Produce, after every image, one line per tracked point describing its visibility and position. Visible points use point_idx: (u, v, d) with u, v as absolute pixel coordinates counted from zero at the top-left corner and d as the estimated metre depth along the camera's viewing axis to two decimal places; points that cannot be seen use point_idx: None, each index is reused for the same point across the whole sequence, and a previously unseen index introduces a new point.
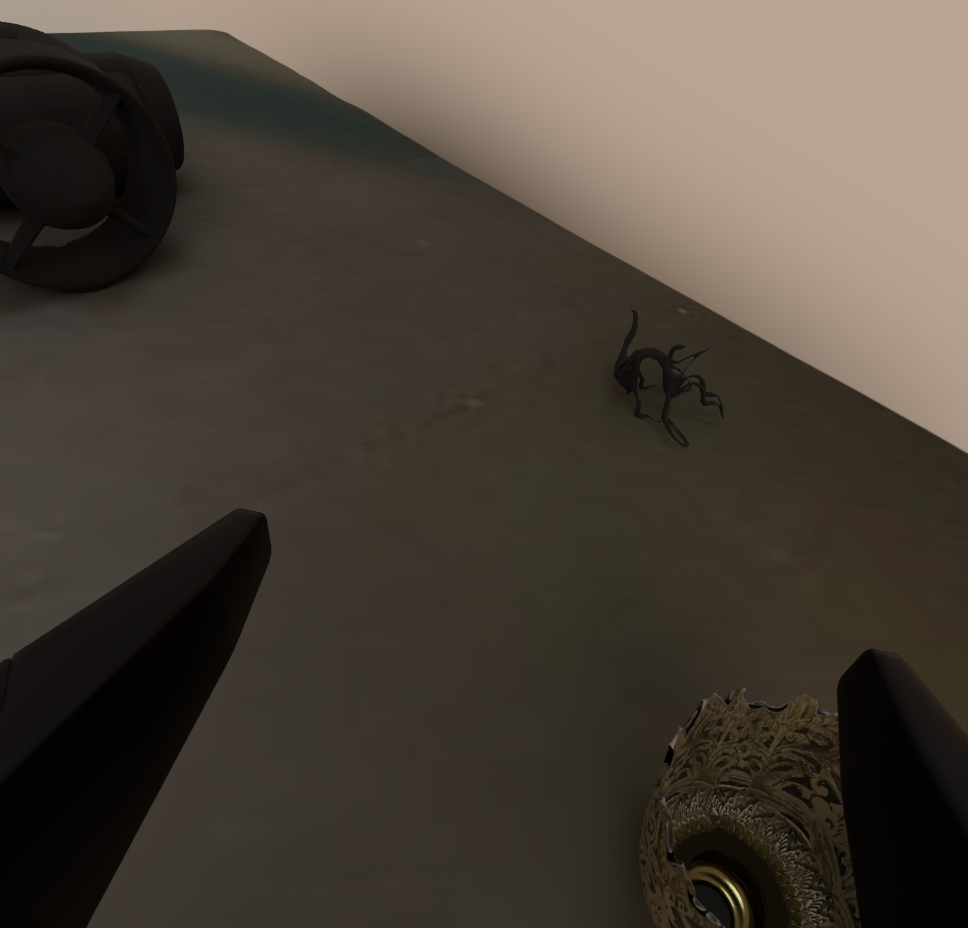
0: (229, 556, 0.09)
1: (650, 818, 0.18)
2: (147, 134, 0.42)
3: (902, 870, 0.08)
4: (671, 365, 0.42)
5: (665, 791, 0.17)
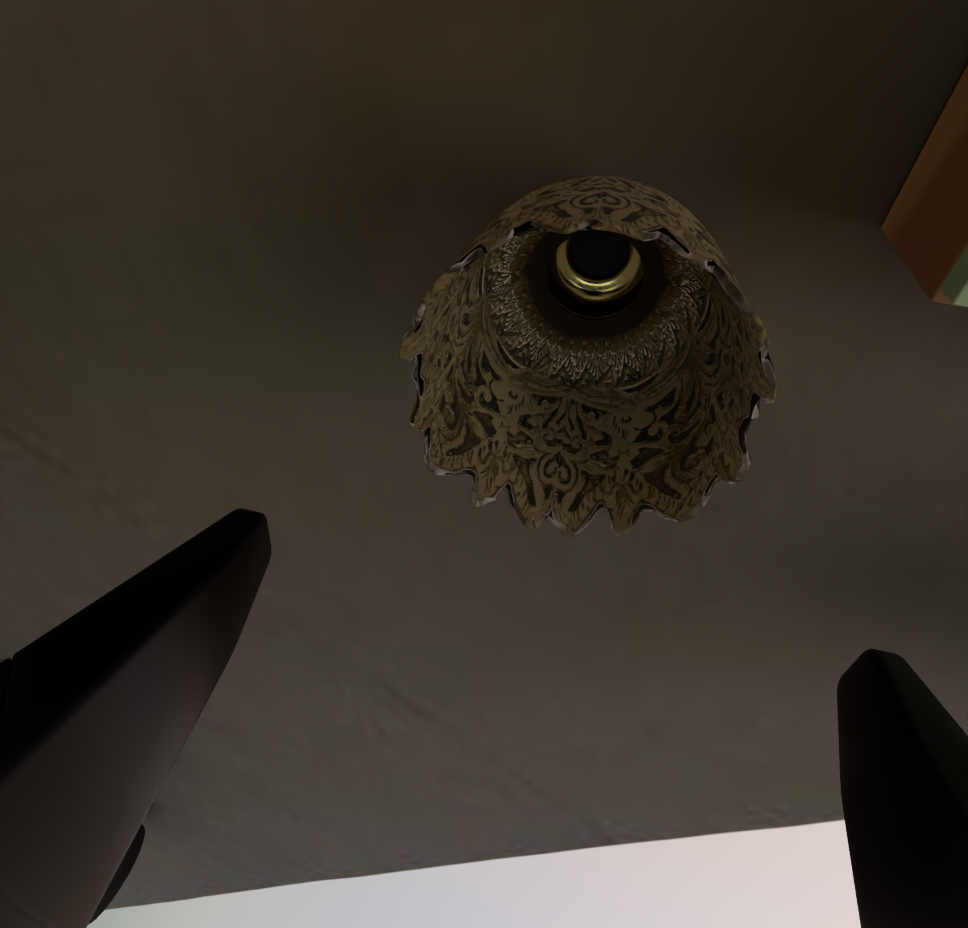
0: (229, 556, 0.09)
1: None
2: None
3: (902, 870, 0.08)
4: None
5: (542, 514, 0.16)
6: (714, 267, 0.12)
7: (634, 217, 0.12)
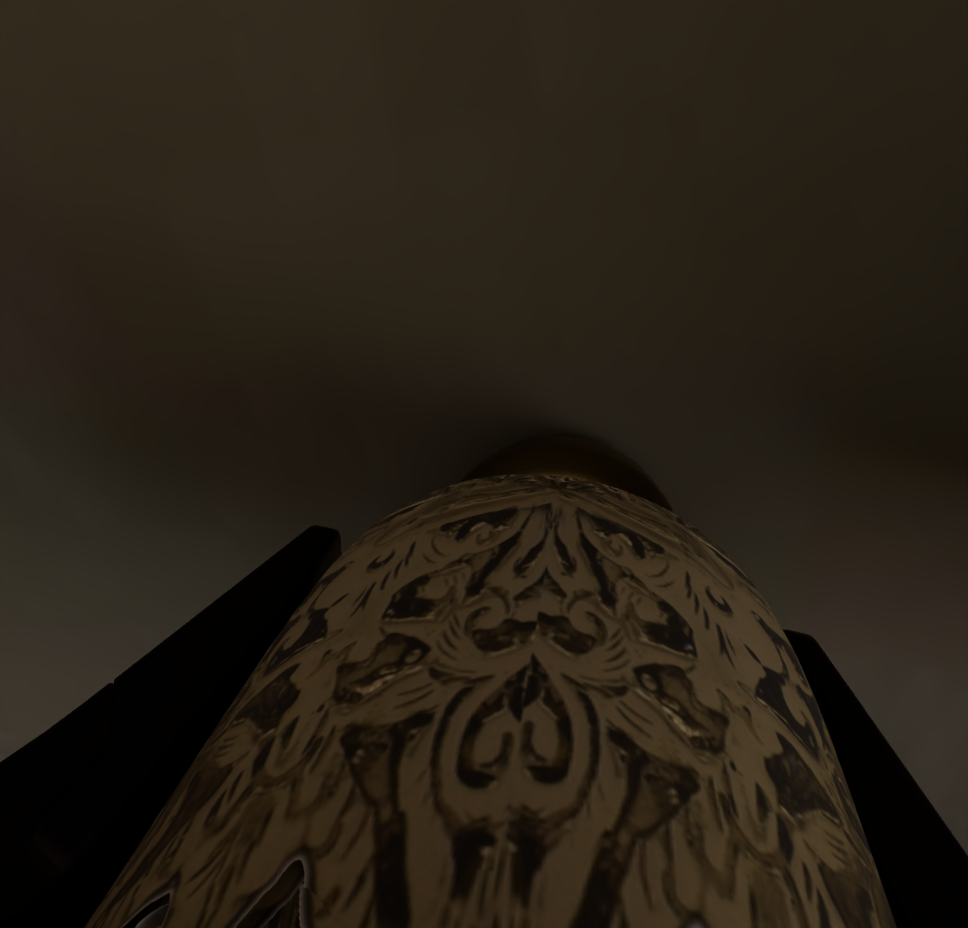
0: (312, 575, 0.09)
1: None
2: None
3: None
4: None
5: None
6: None
7: (604, 900, 0.04)
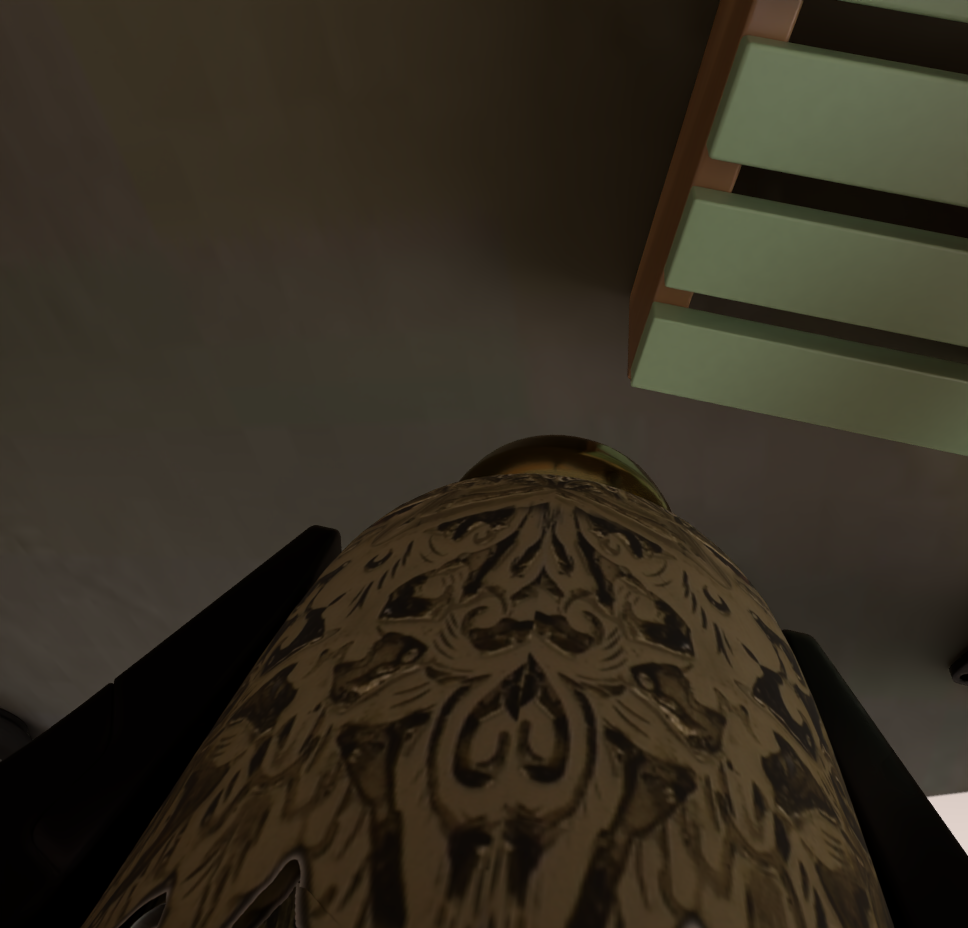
0: (311, 575, 0.09)
1: None
2: None
3: None
4: None
5: None
6: None
7: (600, 900, 0.04)
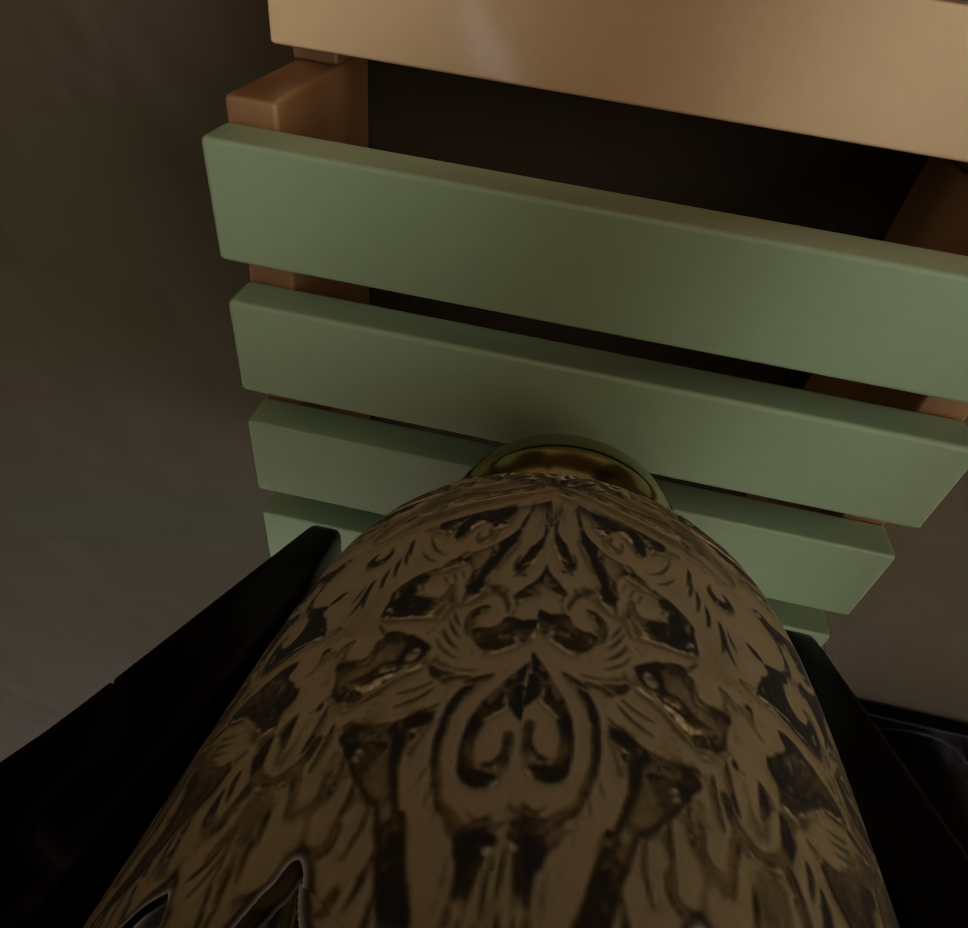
0: (311, 575, 0.09)
1: None
2: None
3: None
4: None
5: None
6: None
7: (606, 900, 0.04)
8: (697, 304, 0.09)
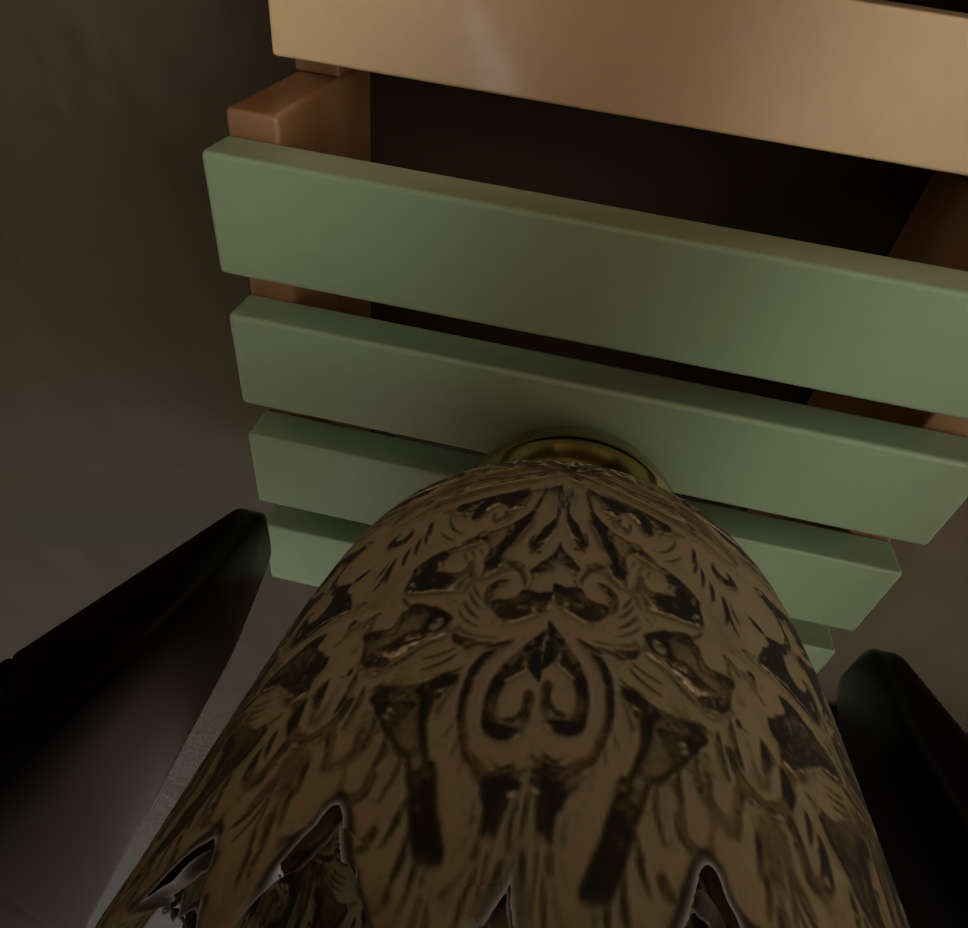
0: (229, 556, 0.09)
1: None
2: None
3: (902, 870, 0.08)
4: None
5: None
6: None
7: (621, 838, 0.04)
8: (702, 321, 0.09)
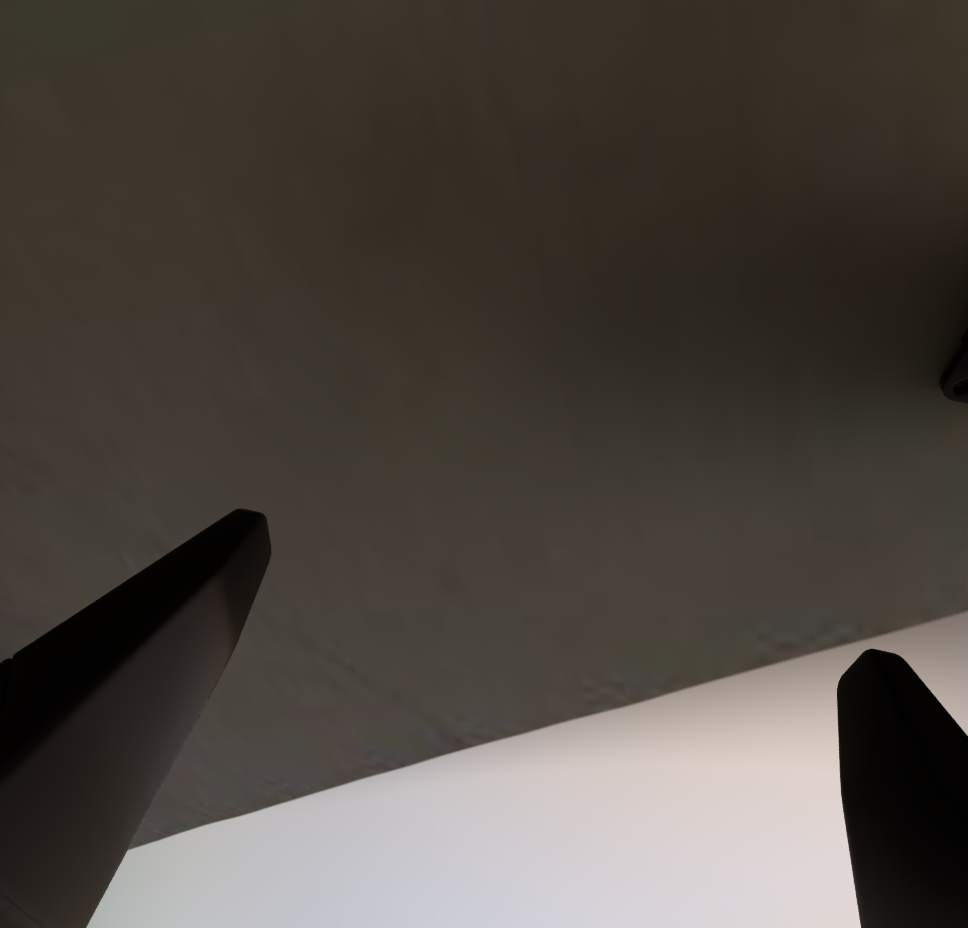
0: (229, 556, 0.09)
1: None
2: None
3: (902, 870, 0.08)
4: None
5: None
6: None
7: None
8: None
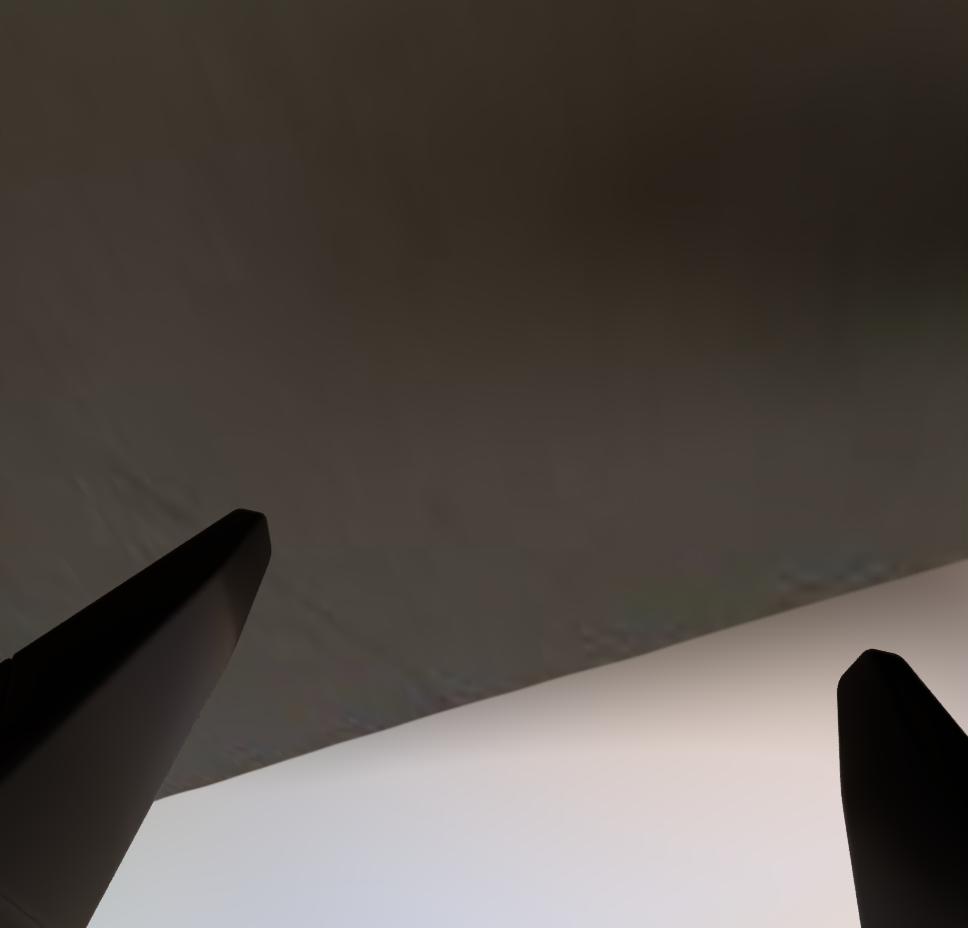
0: (229, 556, 0.09)
1: None
2: None
3: (902, 870, 0.08)
4: None
5: None
6: None
7: None
8: None
